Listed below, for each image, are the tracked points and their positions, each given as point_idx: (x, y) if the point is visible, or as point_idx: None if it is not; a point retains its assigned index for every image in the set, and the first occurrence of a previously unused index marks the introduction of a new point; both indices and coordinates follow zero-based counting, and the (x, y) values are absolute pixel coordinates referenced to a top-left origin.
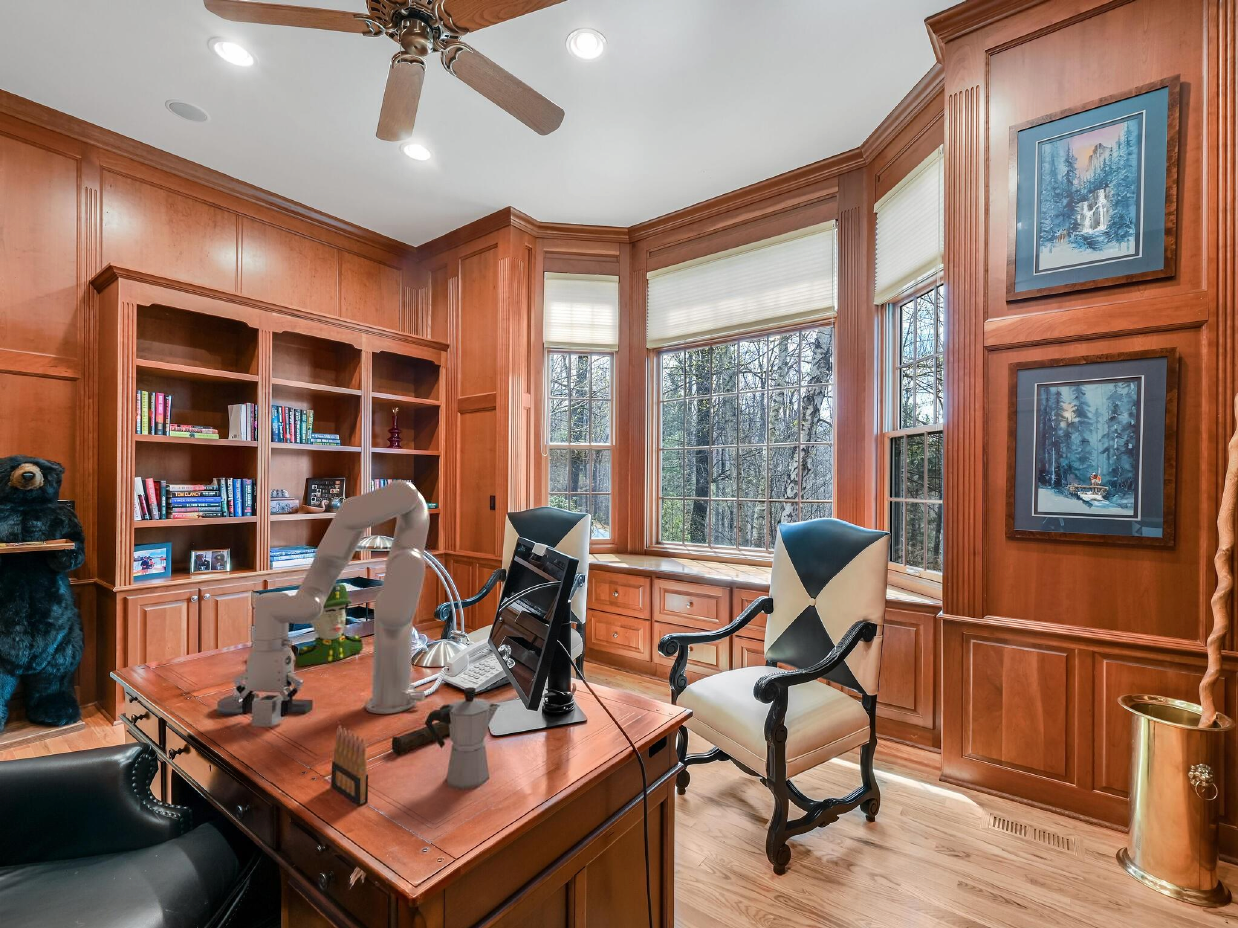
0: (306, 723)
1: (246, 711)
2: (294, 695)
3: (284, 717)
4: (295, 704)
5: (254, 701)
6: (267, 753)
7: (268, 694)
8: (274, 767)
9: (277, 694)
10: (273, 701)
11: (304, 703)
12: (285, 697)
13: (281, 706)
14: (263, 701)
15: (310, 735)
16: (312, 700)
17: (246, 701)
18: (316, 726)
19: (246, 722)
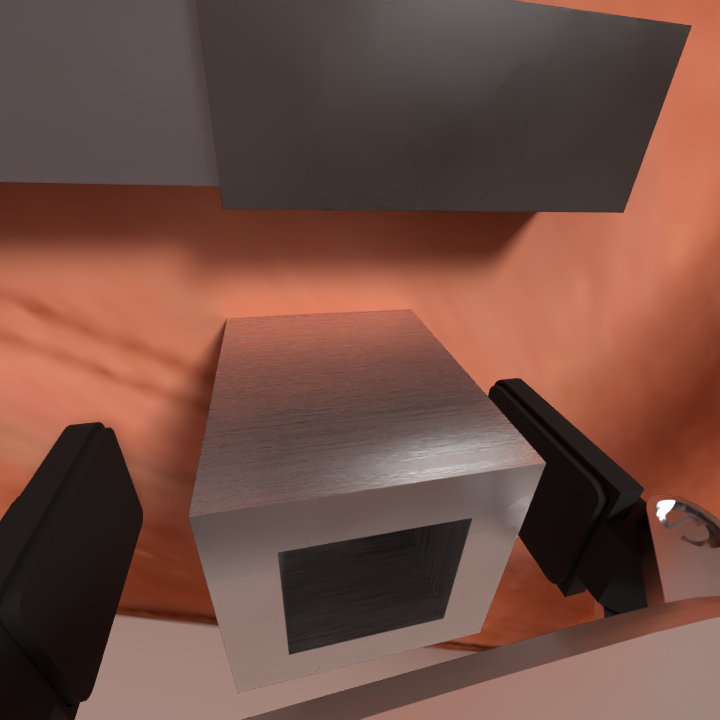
0: (593, 363)
1: (133, 527)
2: (691, 511)
3: (413, 316)
4: (503, 210)
5: (266, 679)
6: (509, 597)
7: (278, 536)
8: (562, 627)
9: (430, 500)
10: (481, 616)
11: (605, 185)
12: (622, 611)
13: (526, 538)
14: (379, 655)
15: (634, 470)
16: (679, 32)
17: (97, 657)
18: (653, 387)
19: (144, 426)
